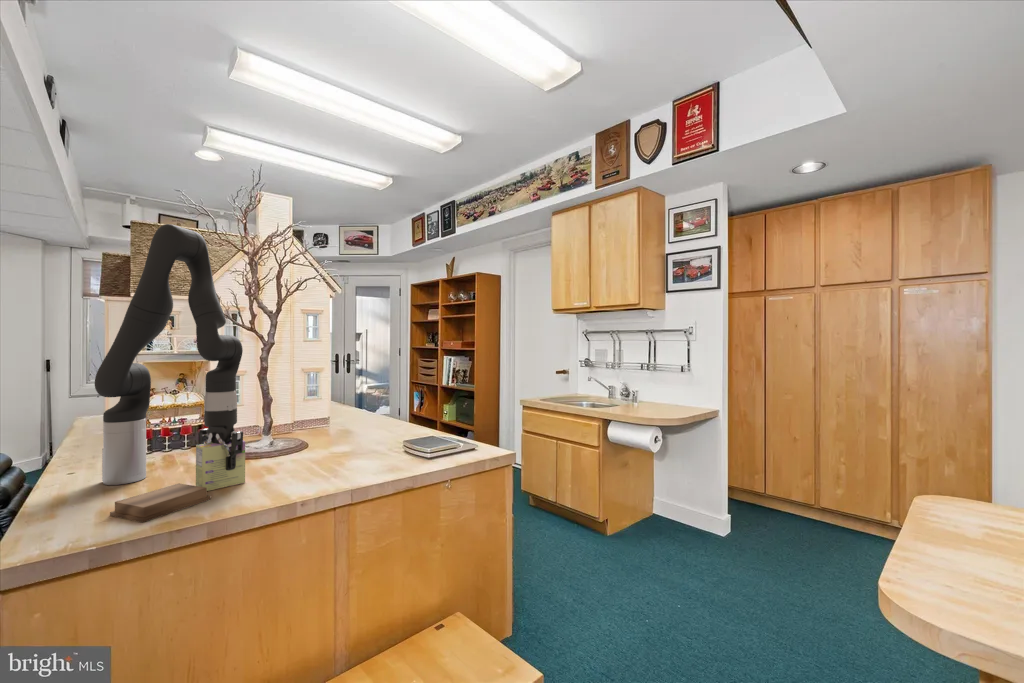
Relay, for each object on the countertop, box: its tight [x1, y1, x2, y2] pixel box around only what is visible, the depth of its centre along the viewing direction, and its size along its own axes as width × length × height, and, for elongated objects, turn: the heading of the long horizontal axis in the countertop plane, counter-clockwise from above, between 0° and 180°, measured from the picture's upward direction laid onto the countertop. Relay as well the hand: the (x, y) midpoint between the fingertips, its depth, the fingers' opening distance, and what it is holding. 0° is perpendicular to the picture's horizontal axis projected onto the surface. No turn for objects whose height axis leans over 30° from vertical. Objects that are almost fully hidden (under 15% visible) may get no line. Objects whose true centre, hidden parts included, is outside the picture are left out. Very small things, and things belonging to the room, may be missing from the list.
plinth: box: [109, 483, 212, 523], centre depth 106 cm, size 11×15×3 cm
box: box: [195, 440, 246, 492], centre depth 121 cm, size 10×6×12 cm, turn 141°
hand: (221, 468), depth 121 cm, fingers closed on box, 6 cm apart
